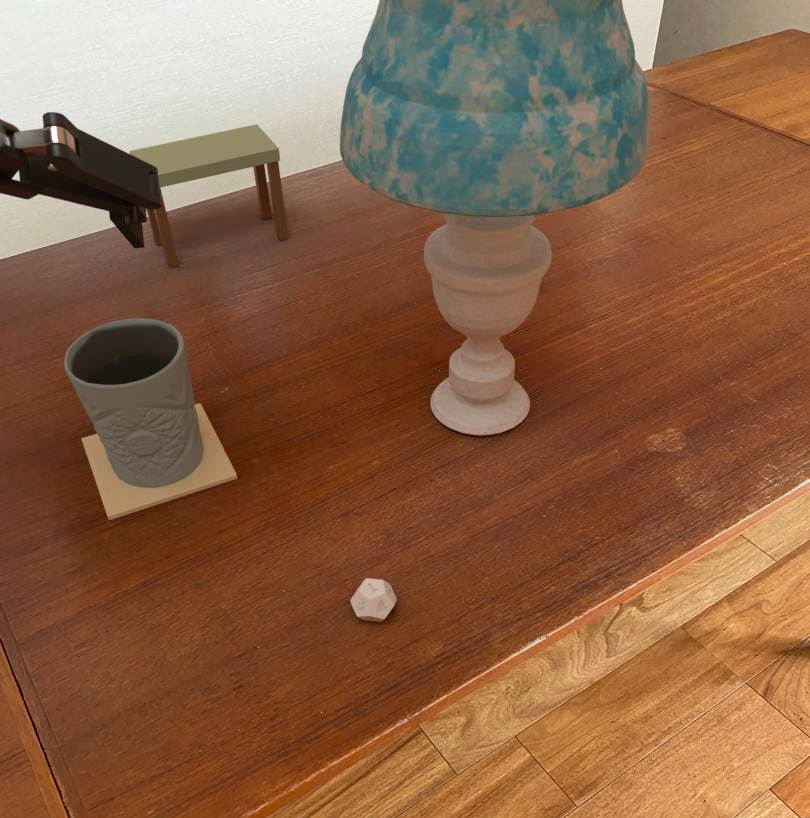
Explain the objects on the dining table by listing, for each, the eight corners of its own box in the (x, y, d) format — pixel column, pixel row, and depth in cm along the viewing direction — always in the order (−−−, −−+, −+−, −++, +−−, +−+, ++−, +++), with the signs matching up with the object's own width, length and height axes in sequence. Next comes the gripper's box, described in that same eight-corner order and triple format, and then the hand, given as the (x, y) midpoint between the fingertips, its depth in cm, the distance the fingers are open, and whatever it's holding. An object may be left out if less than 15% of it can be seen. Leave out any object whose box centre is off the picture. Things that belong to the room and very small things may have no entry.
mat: (82, 441, 84) (81, 438, 84) (201, 406, 88) (200, 402, 87) (109, 520, 77) (107, 516, 77) (237, 478, 80) (237, 474, 80)
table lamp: (499, 528, 75) (541, 8, 46) (311, 414, 86) (247, -62, 57) (647, 398, 87) (756, -83, 57) (464, 313, 98) (477, -126, 69)
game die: (383, 588, 71) (381, 563, 69) (404, 619, 69) (403, 595, 66) (344, 604, 70) (341, 580, 68) (365, 636, 68) (362, 613, 65)
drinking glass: (158, 508, 77) (122, 401, 68) (79, 468, 81) (36, 362, 72) (232, 444, 83) (208, 337, 74) (155, 409, 87) (124, 304, 78)
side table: (152, 241, 111) (129, 150, 103) (270, 212, 116) (257, 124, 107) (168, 269, 106) (145, 177, 98) (290, 239, 111) (278, 148, 102)
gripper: (-366, 197, 42) (-125, 301, 63) (155, 160, 43) (220, 274, 64) (-387, 39, 41) (-138, 197, 63) (139, 7, 43) (209, 172, 64)
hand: (44, 236), depth 64 cm, fingers open, 13 cm apart
